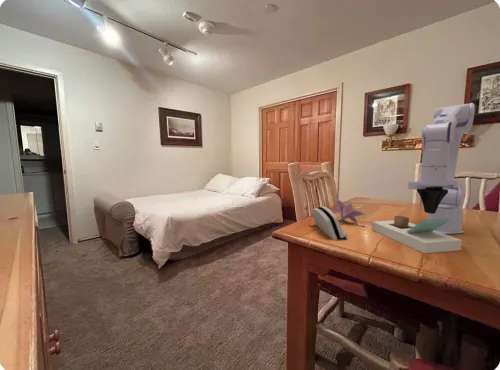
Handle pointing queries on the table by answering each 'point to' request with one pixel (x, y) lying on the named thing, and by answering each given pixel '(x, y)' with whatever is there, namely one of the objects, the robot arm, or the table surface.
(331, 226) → the grey curved piece
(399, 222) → the peg
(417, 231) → the teal flap lid
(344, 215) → the lily
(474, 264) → the table surface
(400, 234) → the tray
